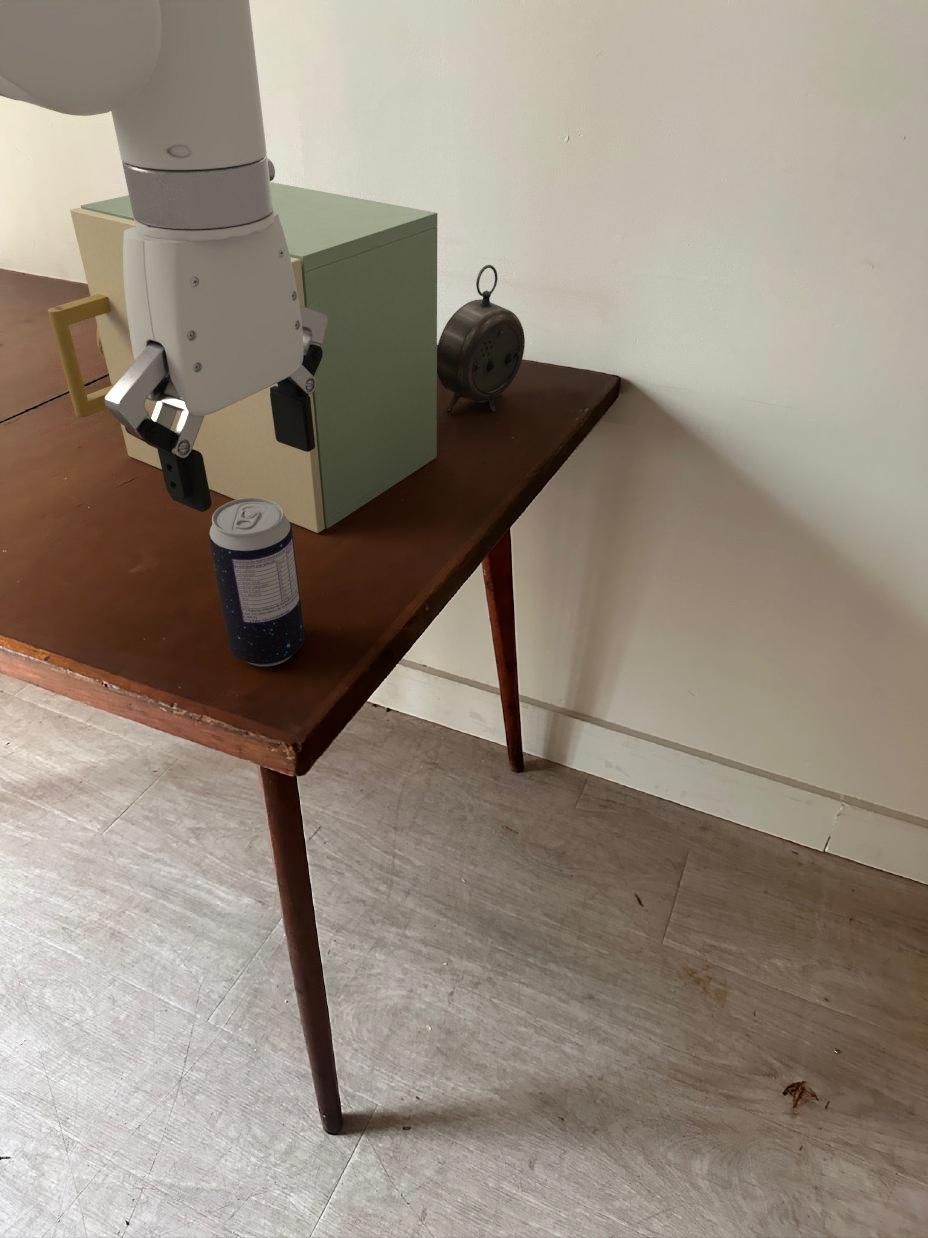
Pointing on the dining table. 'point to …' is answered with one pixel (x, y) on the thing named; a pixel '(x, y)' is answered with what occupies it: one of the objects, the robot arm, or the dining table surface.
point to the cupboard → (363, 335)
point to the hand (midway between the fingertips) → (246, 473)
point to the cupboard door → (226, 439)
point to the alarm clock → (480, 349)
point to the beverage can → (257, 580)
